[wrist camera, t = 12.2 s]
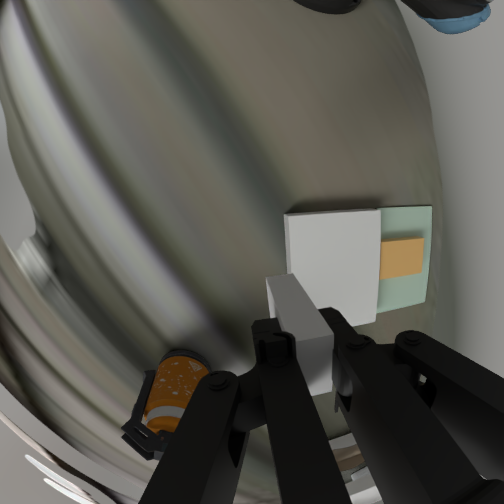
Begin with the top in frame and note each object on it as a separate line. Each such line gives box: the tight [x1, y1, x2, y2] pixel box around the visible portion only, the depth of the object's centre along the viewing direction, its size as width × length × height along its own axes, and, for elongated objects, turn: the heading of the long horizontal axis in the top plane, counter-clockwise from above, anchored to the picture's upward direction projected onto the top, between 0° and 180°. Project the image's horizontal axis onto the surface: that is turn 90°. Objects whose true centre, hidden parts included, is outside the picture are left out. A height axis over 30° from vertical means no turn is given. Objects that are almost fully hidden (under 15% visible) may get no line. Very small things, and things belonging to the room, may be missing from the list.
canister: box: [121, 350, 211, 461], centre depth 34 cm, size 9×11×20 cm
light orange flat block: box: [379, 236, 424, 280], centre depth 41 cm, size 9×6×2 cm, turn 94°
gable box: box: [329, 433, 382, 504], centre depth 40 cm, size 22×13×28 cm, turn 104°
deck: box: [284, 208, 381, 326], centre depth 40 cm, size 18×14×3 cm
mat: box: [376, 206, 432, 313], centre depth 42 cm, size 18×12×1 cm, turn 5°
